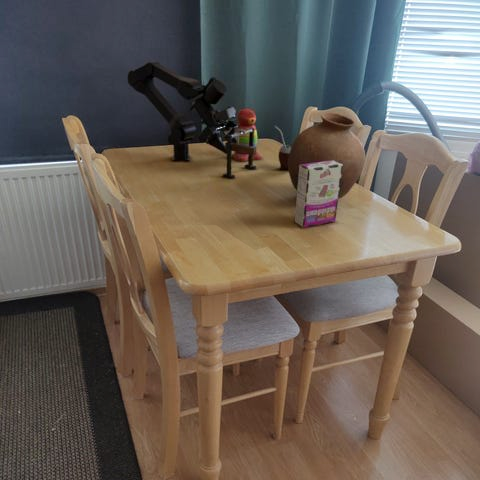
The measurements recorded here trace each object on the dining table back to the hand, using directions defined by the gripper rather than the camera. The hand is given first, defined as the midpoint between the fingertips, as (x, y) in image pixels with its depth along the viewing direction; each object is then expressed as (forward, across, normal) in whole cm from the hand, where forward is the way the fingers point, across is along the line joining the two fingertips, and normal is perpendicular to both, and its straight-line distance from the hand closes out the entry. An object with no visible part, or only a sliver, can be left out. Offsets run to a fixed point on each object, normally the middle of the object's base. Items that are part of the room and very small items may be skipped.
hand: (233, 151), depth 170 cm
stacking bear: (+1, +18, +10) cm, 21 cm away
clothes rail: (+7, 0, +3) cm, 8 cm away
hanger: (+2, 0, -2) cm, 3 cm away
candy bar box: (+37, -26, -27) cm, 53 cm away
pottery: (+32, -6, -22) cm, 39 cm away
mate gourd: (+15, +15, -5) cm, 22 cm away
